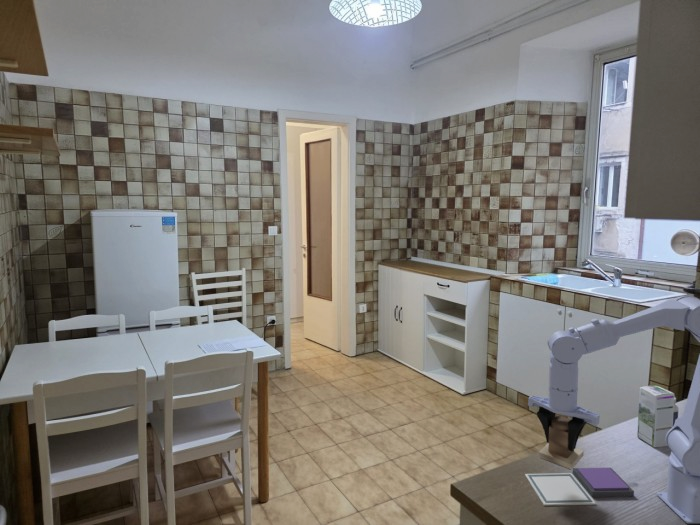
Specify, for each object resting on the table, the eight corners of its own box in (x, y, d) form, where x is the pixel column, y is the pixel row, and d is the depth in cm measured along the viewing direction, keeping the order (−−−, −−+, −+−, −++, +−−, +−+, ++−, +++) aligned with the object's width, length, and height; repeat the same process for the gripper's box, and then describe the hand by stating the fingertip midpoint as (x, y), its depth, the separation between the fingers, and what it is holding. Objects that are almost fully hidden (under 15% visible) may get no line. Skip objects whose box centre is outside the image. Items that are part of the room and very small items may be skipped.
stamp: (583, 456, 102) (584, 420, 100) (571, 470, 97) (572, 432, 96) (551, 445, 107) (552, 410, 105) (538, 458, 102) (539, 421, 101)
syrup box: (672, 445, 119) (676, 392, 117) (652, 448, 118) (656, 394, 116) (654, 435, 125) (658, 384, 123) (635, 437, 124) (638, 386, 122)
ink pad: (633, 496, 99) (634, 489, 99) (592, 497, 99) (592, 490, 99) (610, 472, 108) (610, 466, 108) (572, 473, 108) (572, 466, 108)
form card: (596, 504, 97) (596, 502, 97) (544, 505, 97) (544, 503, 97) (571, 474, 108) (571, 472, 108) (524, 475, 108) (524, 473, 108)
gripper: (605, 390, 97) (602, 450, 99) (538, 373, 107) (536, 427, 109) (594, 400, 92) (591, 463, 94) (524, 381, 102) (523, 438, 104)
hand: (560, 445), depth 101 cm, fingers closed on stamp, 4 cm apart
